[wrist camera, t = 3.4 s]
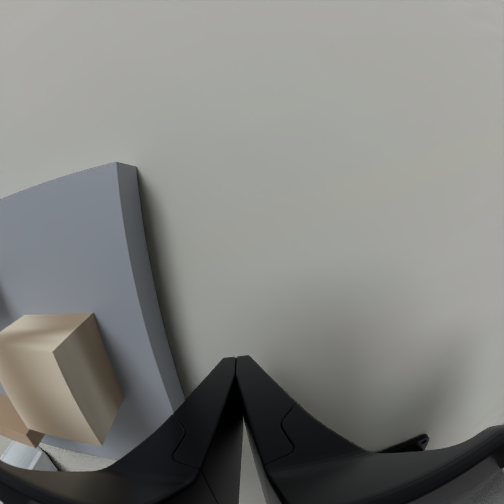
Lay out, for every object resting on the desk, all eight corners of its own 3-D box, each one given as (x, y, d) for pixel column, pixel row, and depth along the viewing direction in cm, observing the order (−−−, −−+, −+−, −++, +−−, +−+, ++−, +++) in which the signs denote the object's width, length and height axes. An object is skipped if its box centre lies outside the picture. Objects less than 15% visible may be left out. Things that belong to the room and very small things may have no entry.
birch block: (93, 312, 9) (52, 351, 6) (124, 397, 10) (102, 446, 7) (24, 314, 9) (-17, 344, 6) (56, 390, 10) (27, 428, 7)
